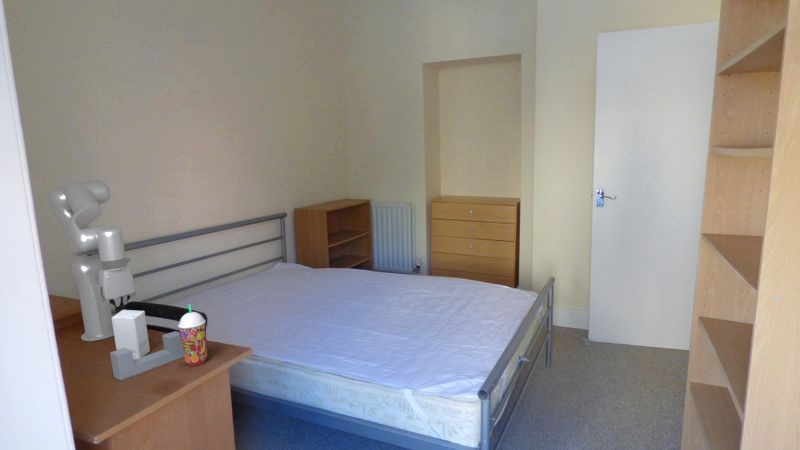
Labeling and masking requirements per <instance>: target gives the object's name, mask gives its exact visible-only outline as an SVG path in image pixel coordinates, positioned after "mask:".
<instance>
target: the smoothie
mask: <svg viewBox="0 0 800 450" xmlns="http://www.w3.org/2000/svg"><path fill="white" fill-rule="evenodd" d="M191 304H192V303H191ZM191 304H190V303H188V304H187V305H188V312H186V313H185V314H184V315H182V316H181V318H180V319H179V323H178V324H177V327H178V332H179V333H180V337H181V342H182V347H183V352H184V357H183V358H184V361H185V363H186V364H187V366H189V367H190V366H191V367H197V366H200V365H203V364H205V363H206V361H207V359H208V345H207V343H208V342H207V340H208V339H207V328H206V327H207V324H206V323H207V321H206V319H205V318H204V317H203V315H202V314H200V313H199V312H196V311H192V305H191Z"/></svg>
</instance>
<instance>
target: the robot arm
mask: <svg viewBox="0 0 800 450" xmlns="http://www.w3.org/2000/svg"><path fill="white" fill-rule="evenodd" d="M110 199H111V192H110V188H109V186H108V185H107V184H106V182H104V181H102V180H91V181H90V180H89V181H88V180H87V181H79V182H72V183H70V184H68V185H66V186H63V187H57V188H54V189H52V190H50V191H49V192H48V194H47V203H48V206H49V209H50V211H51V213H52V214H53V216H54V217H55V219H56V220H57V221H58V222H59V224H60V226H61V227H62V230H63V233H64V234H63V235H64V236H65V239H66V242H67V245H68V248H69V251H70V252H71V254H72V255H74V256H76V257H77V256H78V258H76V259H75V260H73V262H72V264H71V271H72V274H73V278H74V280H75V283H76V287H77V291H78V297H79V302H80V308H81V315H82V320H83V326H84V333H83V334H82V335H81V336H80V337H81V340H82V341H85V342H95V341H101V340H105V339H109V338H112V337H114V331H113V324H112V317H113V315H112V310H111V305H112V306H114V309H115V315H116V314H118V313H119V312H120V311H122V310H128V309H127V304H128V302H129V300H130V299H132V298H134V297H135V296H137V294H136V285H135V280H134V277H133V273H132V271H131V268H130V265H128V263H130V262H131V258H130V257H126V251H125V244H124V238H123V232H122V230H121V228H118V227H117V226H116V225H112V224H111V225H103V226H95V227H90V225H89V224H91V223H93V222H95V221H96V220H97V219H99V218H100V217H101V215H102V210H103V209H102V207H101V205H103V204H106V203H107V202H109V201H110ZM79 256H81V257H79Z"/></svg>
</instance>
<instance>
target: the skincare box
mask: <svg viewBox="0 0 800 450" xmlns="http://www.w3.org/2000/svg"><path fill="white" fill-rule="evenodd" d="M112 324H113V331H114V336H113V338H114V343H115V348H116V350H119V349H122V348H127V349H129V350H131V351H132V355H133V360H135V359H138V358H141V357H144V356H147V355H148V354H149V353H150V351H151V349H150V342H149V341H150V340H149V335H148V327H147V320H146V312H145V310H135V309H134V310H132V309H127V310H122V311H120V312H119V313H118V314H116V313H115V315H112ZM116 350H115V351H116Z"/></svg>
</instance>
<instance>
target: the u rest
mask: <svg viewBox="0 0 800 450" xmlns="http://www.w3.org/2000/svg"><path fill="white" fill-rule="evenodd" d="M161 337H162V343H163V349H161V350H159V351H156V352H153V353H150V354H146V355H145V356H144V357H141V358H138V359H135V360H134V359H133V355H132V351H131V350H129V349H127V348H122V349H119V350H112V351H110V353H109V355H110V361H111V368H112V372H113V374H112V375H113V377H114V378H116V379H117V380H118V381H124V380H126V379H128V378H131V377H133V376H137V375H139V374H142V373H144V372H147V371H149V370H152V369H153V370H154V369H155V368H158V367H160V366H163V365H165V364H168V363H170V362H174V361H176V360H179V359H182V358H185V357H184V352H183V347H182V342H181V337H180V332H179V331H176V330H174V331H171V332H169V333H165V334H162V335H161Z"/></svg>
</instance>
